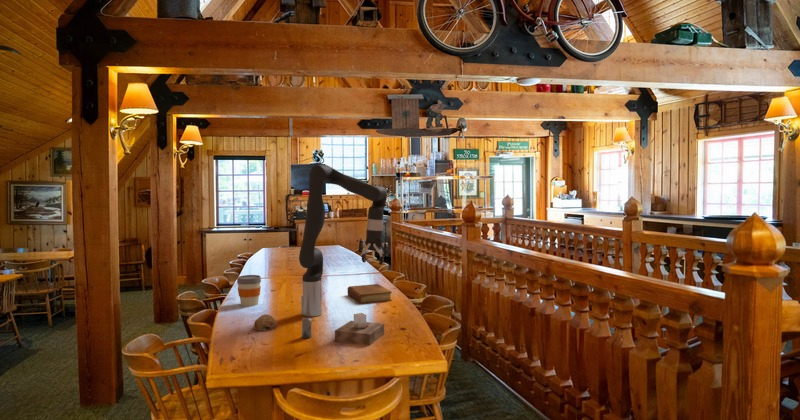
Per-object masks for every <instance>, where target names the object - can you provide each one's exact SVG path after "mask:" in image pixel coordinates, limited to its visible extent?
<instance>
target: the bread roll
mask: <svg viewBox="0 0 800 420" xmlns="http://www.w3.org/2000/svg"><path fill="white" fill-rule="evenodd" d="M277 325H278V323H277V319H275V318H274V317H273V316H272V315H271V314H262V315H261V316H259V317H257V319H255V321H254V322H253V328H254V329H255V330H257V331H260V332H266V331H273V330H275V329H277Z"/></svg>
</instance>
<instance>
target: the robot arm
mask: <svg viewBox="0 0 800 420" xmlns="http://www.w3.org/2000/svg"><path fill="white" fill-rule="evenodd" d="M308 175H309V177H308V195H307V197H308V198H307V207H306V213H305V221H304V222H305V223H304V230H303V236H302V241H301V242H302V243H301V246H300V250H299V255H298V263H299V264H300V266H301V267H302V268H304V269H306V271H305V272H304V273H303V275H302V295H301V296H300V298H301V299H300V300H301V301H300V302H301V303H300V304H301V306H300V308H301V310H300V311H301V312H300V313H301V316H305V317H318V316H321V315H322V314H323V312H322V311H323V305H322V300H323V299H322V297H323V295H322V276H323V272H324V255H323V252H322V251H321V250H320V248H318V247H316V243H317V240H318V237H319V236H320V233H321V232H322V229H323V227H324V225H325V219H326V206H325V203H324V198H323V187H324V184H332V185H336V186H339V187H341V188H343V189H344V190H346V191H347V192H350V193H352V194H355V195H357V196H361V197H362V198H364V199H367V200H369V201H371V202H372V203H371V206H369V207H368V211H367V222H366V231H365V233H366V234H365V240H364V239H360V240H359V243H358V244H359V245H358V249H357V252H358V253H359V254H361V262H362V263H366V262H367V253H368V252H369V251H372V252H376V253H378V254H379V263H378V264H379V266H381V265H383V264H384V260H385V257H386V256H388V255H389V243H388V242H383V232H384V231H383V230H384V209H385V207H386V203H387V199H388V193H387V189H386V188H385V187H384V186H382V185H381V186H380V185H379V186H377V185H372V184H369V183H368V182H367V181H365V180H361V179H358V178H356V177H353V176H350V175H347V174H344V173H343V172H340V171H338V170H336V169H335V168H333V167H331V166H330V165H327V164H314V165H313V166H311V168H310V170H309V174H308ZM364 245H366V246H365V248H364ZM382 248H383V249H382Z"/></svg>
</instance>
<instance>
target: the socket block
mask: <svg viewBox="0 0 800 420" xmlns="http://www.w3.org/2000/svg"><path fill="white" fill-rule="evenodd" d="M384 335H385V323H381V322H380V323H378V322H368V321H366V328H365V329H364V330H361V329H354V320H349V321H348V322H347V323H345V324H343V325H342V326H340V327H338V328H337V329H335V330H334V342H339V343H347V344H356V345H357V344H358V345H365V346H366V345H367V346H371V345H372V344H373V343H375V342H376V341H377V340H379V339H380V338H381V337H382V336H384Z"/></svg>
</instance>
